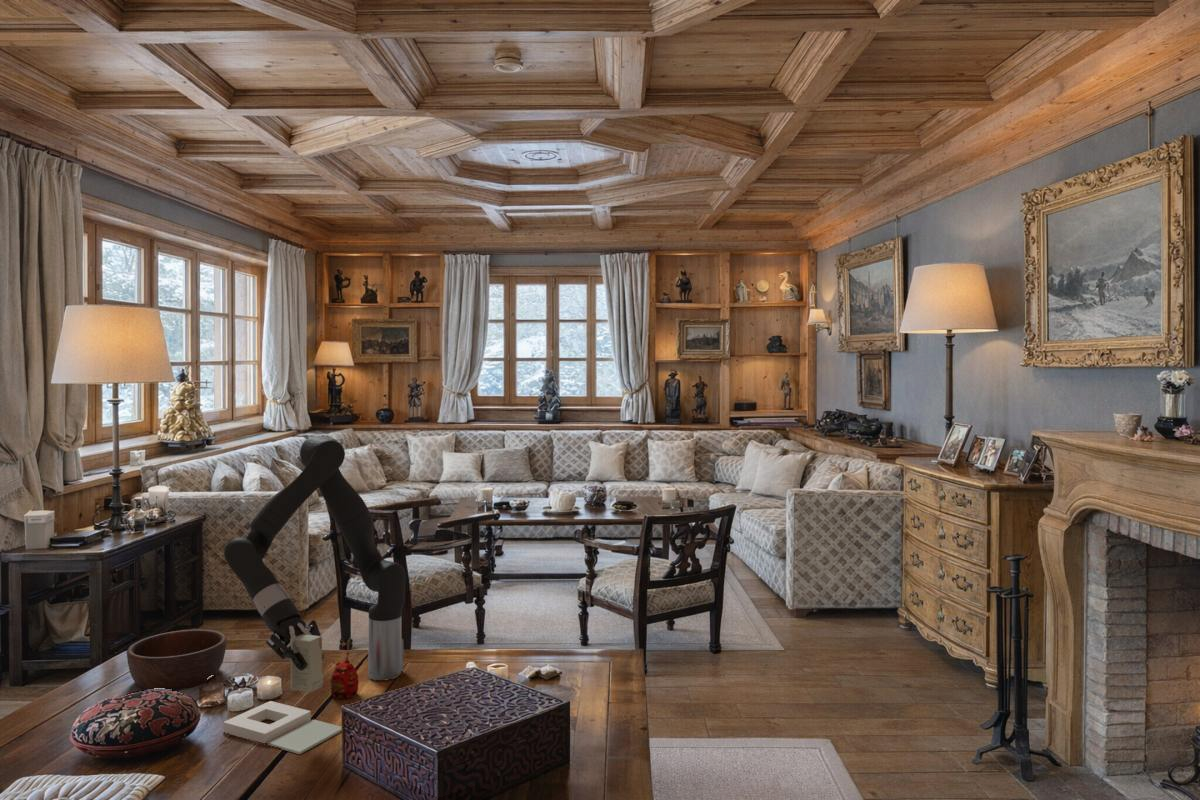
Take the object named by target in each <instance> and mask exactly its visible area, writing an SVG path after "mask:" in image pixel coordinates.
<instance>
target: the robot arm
mask: <svg viewBox="0 0 1200 800" xmlns="http://www.w3.org/2000/svg"><path fill="white" fill-rule="evenodd" d="M299 457H300V461H301V463H302V465H303V466H304V468H303V470H302V471H301V472H300V474H298V476H297V477H296V478H294V480H293V481H291V482H290V483H289V484H287V485H286V486H285V487H284V488H282V489H281V490H279V491H278V492H277V493H276V494H275V495H273V496H272V497H271V498H269V500H268V501H267V502H266V503H265V504H264V505H263V506H262V508H261V509H260V510H259V512H258V513H257V514H256V516H255V517H254V518H253V519H252V521H250V525H249V527H250V531H249V533H248V535H247V536H246V537H236V538H232V539H231V540H230V541H228V542H227V543H226V545H225V548H224V550H223V557H224V560H225V562H226V563H227V565H228V566H229V567H230V569H231V570H232V572H233V573H234V574H235V575H236V576H237V578H238V579H239V580H240V582H241V583H242V584H243V586H244V589H245V590H246V592H247V594H248V596H249V597H250V598H251V600H252V601H253V603H254V605H255V607H256V610H257V612H258V613H259V615H260V616H261V618H262V620H263V622H264V623H265V625H266V626H267V628H268V629H269V631H270V632H272V633H273V634H271V635H270V636H269V638H267V640H266V641H265V643H266V645H268V647H269V648H271V650H272V651H273V652H275V654H277V656H279V657H280V658H281V659H282V660H285V659H286V658H288V659H289V660H290V659H292V661H293V663H294V664H295V665H296V667H297V668H298V669H299V670H300V671H302V670H304V669H305V668H306V667H307V663H306V662H305V660H304V658H303V657H302V655H301V654H300V652H299V653H297V652H298V649H297V647H296V645H295V641H294V639H295V638H296V636H299V635H303V634H304V635H307V634H308V635H316V636H322V635H321V632H320V629H319V627H318V625H317V622H316V620H314V619H312V620H311V621H310V622H305V620H303V619H302V618H301V616H300V615H301V613H300V611H299V609H298V607H297V606H296V605H295V603H294V601H293V600H292V598H291V597H290V595H289V594H288V592H287V591H286V589H285V588H284V587H283V586H282V585H281V583H280V581H278V579H277V577H276V575H275V574H274V573H273V571H272V570H271V569H270V568H269V567H268V566H266V564H265V562H264V560H263V559H264V558H265V556H266V555H267V553H268V551H269V549H270V548H271V546H272V544H273V541H274V539H275V538H276V536H277V535H278V534H279V533H280V532H281V530H282V529H284V527H285V525H286V524H287V523H288V521H289V520H290V519H291V518H292V517H293V515H294V514H295V513H296V512H297V510H298V509H299V508H300V507H301V506H302V505H303V504H304V503H305V502H306V501H307V500H308V499H309V498H310V497H311V495H312V494H314V492H316V491H317V489H319V491H320V493H321V495H322V497H323V500H324V501H325V504H326V505H327V507H328V508H327V509H329V511H330V513H331V516H332V518H333V519H334V520H333V521H334V522H335V524H336V526H337V528H338V529H339V532H340V533H341V535H342V537H343V539H344V540H345V542H346V544H347V547H348V548H349V550H350V552H351V554H352V555H353V558H354V560H355V563H356V565H357V568H358V571H359V574H360V576H361V578H362V580H363V583H364V585H365V586H366V587H367V588H368V589H369V590H370V591H372V592H375V593H377V603H375V604H373V605H371V606H370V607H369V608H368V652H367V653H368V654H367V655H368V660H367V661H368V663H367V669H368V670H367V672H368V676H367V677H368V679H370V680H372V679H373V680H372V681H376V680H385V679H391V678H394V677H397V676H398V675H400V674H401V675H402V673H401V671H403V672H404V639H403V638H402V617H403V616H402V615H403V614H402V611H403V608H404V606H405V601H406V600H405V599H406V581H407V580H406V579H407V578H406V571H405V568H404V567H403V566H402V564H400V563H398V562H396V561H395V562H393V561H390V560H386V559H384V557H383V556H382V555H381V552H380V551H379V549H378V547H377V545H376V543H375V522H374V519H373V516H372V514H371V512H370V510H369V508H368V507H367V504H366V502H365V501H364V499H363V498H362V497H361V495H360V494H359V493H358V492H357V491H356V489H355V488H354V487H353V486H352V485H351V484H350V483H349V482H348V481H347V480H346V479H347V478H345V477H344V475H343V474H342V472H341V469H340V467H342V465H343V463H344V461H345V459H346V452H345V448H344V446H343V445H342V443H340V442H338V441H337V440H334V439H333V438H332V439H331V438H327V437H323V436H310V437H309V438H307V439H305V440H304V441H303V442H302V444H301V446H300V449H299ZM290 648H291V649H292V650H290ZM324 659H325V658H324V654H323V652H322V661H323V660H324ZM401 675H400V676H401ZM397 678H398V677H397Z"/></svg>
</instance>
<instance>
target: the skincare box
mask: <svg viewBox="0 0 1200 800" xmlns="http://www.w3.org/2000/svg"><path fill="white" fill-rule="evenodd" d="M294 641H295V645H296V647H297V649H298V652H297V653H299V652H300V654H301V655H302V657H303V658H304V660H305V662H306V663H307V667H306V668H305V669H304V670H302V671H300V670H299V669H298V668H297V667H296V665H295V664H294V663H293V661H292V659H290V658H289V661H290V662H289V664H290V666H289V667H290V669H289V670H290V690H294V691H300V692H307V693H312V692H314V691H316V690H319V689H320V688H322V687H323V683H324V682H323V679H324V678H323V660H322V653H323V636H322V635H321V636H316V635H308V634H307V635H304V634H303V635H299V636H296V638H295V639H294ZM290 650H292V649H291V648H290Z"/></svg>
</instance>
